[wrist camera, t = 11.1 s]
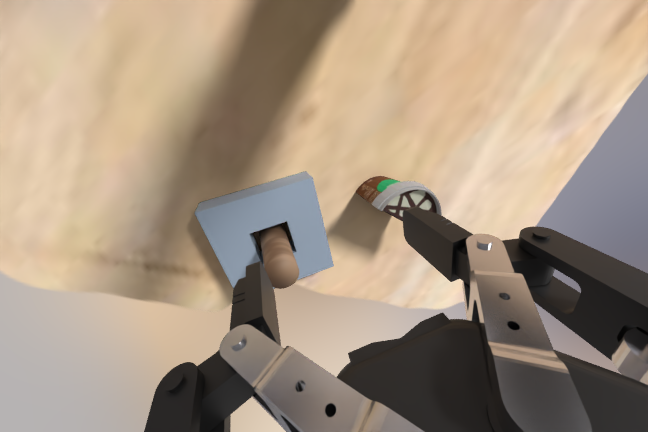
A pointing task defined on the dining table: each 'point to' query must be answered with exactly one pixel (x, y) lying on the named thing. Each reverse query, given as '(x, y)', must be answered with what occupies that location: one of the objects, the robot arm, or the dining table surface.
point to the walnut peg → (278, 257)
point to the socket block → (266, 224)
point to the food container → (398, 196)
